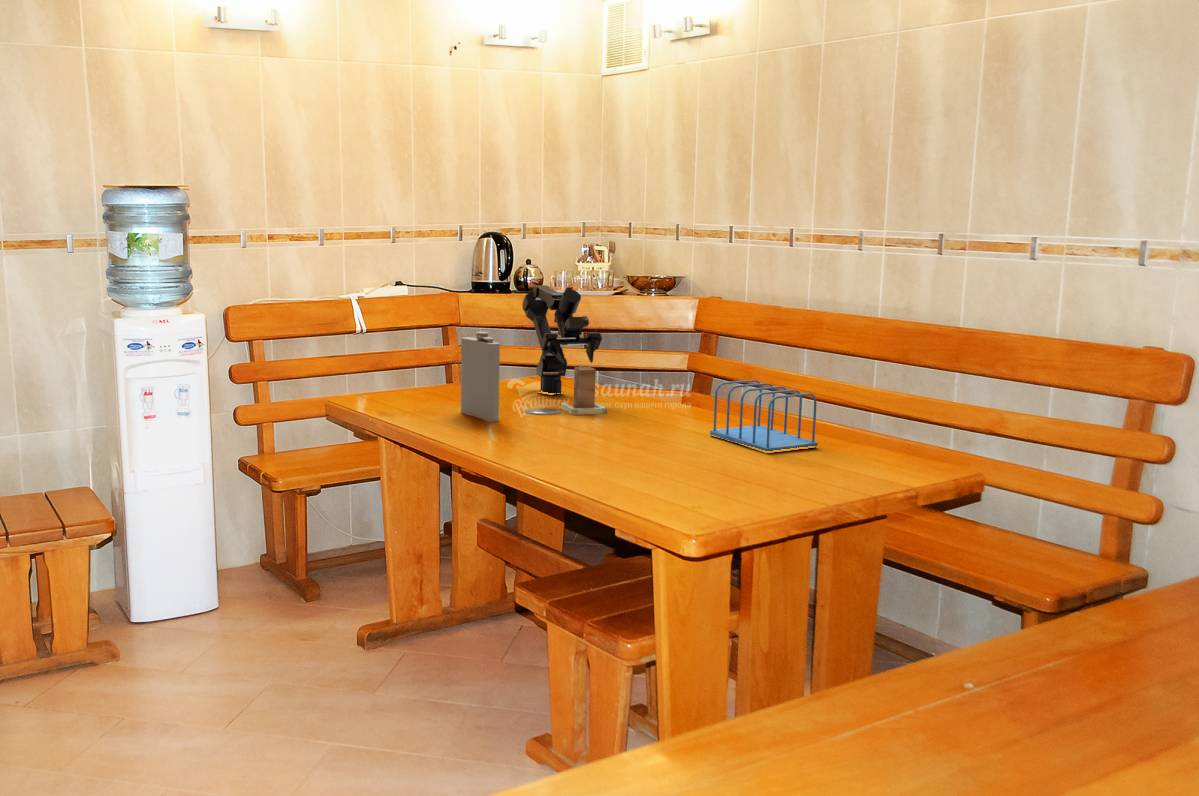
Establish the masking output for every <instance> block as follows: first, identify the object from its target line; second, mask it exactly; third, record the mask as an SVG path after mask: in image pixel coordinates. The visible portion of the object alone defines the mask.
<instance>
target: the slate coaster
mask: <svg viewBox="0 0 1199 796" xmlns="http://www.w3.org/2000/svg"><path fill="white" fill-rule="evenodd" d="M523 412H524V413H525V414H527V415H531V416H532V415H533V416H555V415H559V414H561V413H562V412H561V410H558V409H555V408H548V407H547V408H543V407H539V408H538V407H536V408H535V407H534V408H529V409H528V408H527V409H524V411H523Z"/></svg>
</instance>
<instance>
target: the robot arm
mask: <svg viewBox="0 0 1199 796" xmlns="http://www.w3.org/2000/svg"><path fill="white" fill-rule="evenodd" d="M581 299H582V296H581V294H580V293H579V292H578V291H576V290H575V289H573V287H569V286H568V287H567V286H566V287H565V290H564V291H563V292H558V291H557V290H555V289H553V288H551V287H550V286H549V285H534V286H533V288H532V290H531V291H530V292H528V293H526V294H525V296H524V298H523V301H522V310H523V312H524V314H525V316H526V318H527V319H528V320H530V321H531V322H532V323H533V326H534V330H535V332H536V337H537V340H538V343H539V346H540V350H541V355H540V358H539V361H538V364H537V366H536V370H535V371H536V375H537V376H538V377H540V391H541V390H542V391H543V392H548V393H556V394H557V393H561V392H562V377H565V376H566V372H567V366H568V362H567V359H566V357H565V354H564V351H563V348H562V347H561V346H578V345H579V346H581V345H582V346H583V345H584V347H585V353H586V355H587V358H588V361H589V362H590V364H592V363H593V362H594V354H595V353H594V352H595V351H596V350H598V349H599V347H600V345H601V343H602V340H603V337H602V334H601V332H588V333H587V335H586V337H581V335H582V333H583V331H582V330H583V329H584V328H588V326H589V325H590V321H589V317H588V316H587V315H582V316H574V314H575V313H576V312H577V310H578V308H579V304H580V302H581ZM548 311H554V314H553V316H554V319H553V321H554V324H555V323H556V326H557V329H558V330H557V333H555V332H553V333H552V331H551V328H550V324H549V320H548V318H547V313H548Z"/></svg>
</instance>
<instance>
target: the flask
mask: <svg viewBox="0 0 1199 796" xmlns="http://www.w3.org/2000/svg"><path fill="white" fill-rule="evenodd" d="M460 346H461V347H460V348H461V349H460V350H461V353H460V356H461V357H460V362H461V363H460V365H461V366H460V413H461V414H462V415H468V416H472V417H475V418H478V419H480V420H482V421H485V422H490V423H492V422H493V423H495V422H498V421H499V420H500V359H501V358H500V356H501V355H500V354H501V351H500V347H501V345H500V342H496V341H495V338H494V337H492V336H489V332H488V331H477V332H475V337H473V336H472V337H470V336H467V337H461V344H460Z"/></svg>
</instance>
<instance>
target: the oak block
mask: <svg viewBox="0 0 1199 796" xmlns="http://www.w3.org/2000/svg"><path fill="white" fill-rule="evenodd" d="M573 370H574V373H573V374H574V375H573V407H574V408H595V401H596V400H595V399H596V375H597V374H596V372H597V369H596V368H594V367H591V366H579V367H578V366H574V369H573Z"/></svg>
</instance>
